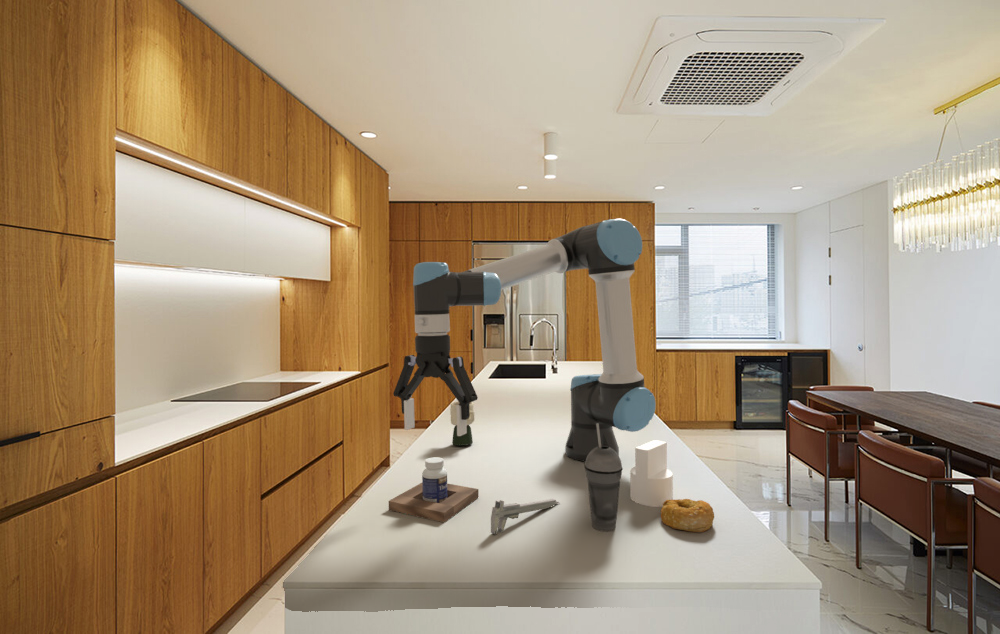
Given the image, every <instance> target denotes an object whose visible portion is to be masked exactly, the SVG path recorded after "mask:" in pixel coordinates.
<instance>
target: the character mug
mask: <svg viewBox="0 0 1000 634" xmlns="http://www.w3.org/2000/svg"><path fill="white" fill-rule="evenodd" d="M458 404H460V403H459V401H458V400H457V401H454V402H451V403H450V409H449V410H450V424H451V425H452V426H454V428H453V430H452V431H453V432H452V440H451V443H452V445H454V446H465V447H467V445H471V444H473V434H472V428H471V425H472V424H473V423H474V422H475V412H474V411H475V410H474V409H475V408H474V401H473V402H470V404H469V414H470V416H469V419H466V422H467V433H466V434H464V435H462V436H457V409H456V405H458Z"/></svg>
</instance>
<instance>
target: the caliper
mask: <svg viewBox="0 0 1000 634" xmlns="http://www.w3.org/2000/svg"><path fill="white" fill-rule="evenodd" d="M494 503H495V504H494V506H493V507H492V510H491V515H490V533H491V534H492V535H496V536H497V535H498V532H499V533H503V532H504V530H505V527H506V523H507V521H508V518H509V519H512V520H514V519H518V518H519V515H521V514H524V513H525V514H526V513H529V512H535V511H539V510H545V509H546V510H547V509H550V508H549V507H551V506H553V505H555V504H556V505H558V504H557V503H559V504H560V501H558V500H556V499H554V498H550V499H545V500H543V499H542V500H538V501H532V502H528V503H517V502H516V503H508V504H505V501H504V500H502V499H500V500H499V501H497V500H495V502H494ZM556 505H555V506H556ZM553 507H554V506H553ZM551 508H552V507H551Z"/></svg>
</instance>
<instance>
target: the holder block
mask: <svg viewBox="0 0 1000 634" xmlns="http://www.w3.org/2000/svg"><path fill="white" fill-rule="evenodd" d="M478 497H479V488H474V487H468V486H464V485H458V484H453V483H447V499H445V500H444V501H442V502H441V503H435V502H430V501H425V500H423V487H422V482H420V483H418V484H417V485H415V486H413V487H411V488H410V489H408V490H405V491H404V492H402V493H401V494H399V495H396V496H395V497H393V498H392V499H389V500H388V511H390V510H392V511H391V512H394V511H396V512H395V513H399V512H401V513H400V514H403V513H406V514H405V515H408V514H410V515H409V516H412V515H414V516H413V517H417V516H418V517H417V518H421V517H423V518H422V519H426V520H430V519H431V520H430V521H435V520H436V521H435V522H439V521H441V522H440V523H444V522H445V523H446V522H447V521H449V520H450V519H452V518H453V517H454V516H455V514H456V513H457V514H458V513H460V512H462V509H463V508H464V509H465V508H467V507H468V506H469V505H471V504H472V503H474V502H475V501H476V500H478V499H479V498H478ZM477 498H478V499H477ZM474 500H475V501H474ZM473 501H474V502H473ZM471 502H472V503H471ZM470 503H471V504H470ZM468 504H469V505H468ZM467 505H468V506H467ZM466 506H467V507H466ZM464 509H463V510H464ZM459 511H460V512H459ZM457 514H456V515H457ZM452 516H453V517H452ZM451 517H452V518H451ZM448 519H449V520H448Z"/></svg>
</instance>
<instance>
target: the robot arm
mask: <svg viewBox="0 0 1000 634" xmlns="http://www.w3.org/2000/svg"><path fill="white" fill-rule="evenodd" d="M642 253H643V240H642V235H641V234H640V232H639V230H638V229H637V227H636V226H634V224H632V222H630V221H628V220H626V219H623V218H613V219H605V220H602V221H599V222H595V223H592V224H587V225H584V226H581V227H578V228H576V229H574V230H571V231H569V232H567V233H566V234H563V235H561V236H558V237H555V238H552V239H550V240H548V242H547V243H546V244H545V245H543V246H542V245H541V246H540V247H535V248H533V249H530V250H529V249H528V251H527V250H526V251H524V252H520V253H517V254H514V255H511V256H508V257H505V258H502V259H499V260H496V261H492V262H490V263H486V264H483V265H480V266H479V265H478V266H477V267H473V268H470V269H468V270H465V271H460V272H458V271H457V272H454V271H450V268H449V264H448V263H446V262H441V261H440V262H439V261H424V262H419V263H418V262H417V263H416V264H415V266H414V267H413V276H412V277H413V279H412V280H413V283H412V286H413V302H414V333H415V334H417V335H416V336H415V337H414V347H415V348H414V351H415V353H416V356H415V355H414V354H410V355H405V356H404V359H403V367H402V370H401V372H400V374H399V377H398V380H397V383H396V386H395V387H394V390H393V394H392V395H393V396H394V397H397V398H399V399H400V400H401V401H400V402H401V403H400V404H401V413H402V415H403V420H404V430H405V431H408V430H411V429H414V428H415V427H416V426H415V423H416V422H415V421H416V420H415V398H412V397H413V396H412V395H413V394H414V393H415V391H416V390H417V389H418V387H419V386H420V384H421V383H422V382H423V381H424V379H425V378H431V377H432V378H435V379H436V378H439V379H441V381H443V382H444V383H445V385H446V386H447V387H448V389H449V391H450V392H451V393H452V395H453V396H454V397H455V398H456V400H457V402H458V401H459V403H460V404H458V405H456V409H457V436H462V435H464V434H466V433H467V422H466V419H469V416H470V414H469V404H470V402H473V403H474V402H475V401H477V400H478V397H479V396H478V395H477V393H476V390H475V388H474V386H473V384H472V381H471V379H470V377H469V375H468V373H467V370H466V368H465V365H464V364H465V363H464V358H463V356H456V357H451V356H450V351H451V336H450V335H449V334H448V333H449V332H450V331H451V322H450V307H456V306H458V307H461V306H463V307H464V306H465V307H466V306H467V307H469V306H470V307H473V306H478V307H479V306H483V307H485V306H493V305H496V304H497V303H498V302H500V299H501V294H502V290H503V291H504V290H506V289H508V288H509V289H510V288H512V287H515V286H517V285H519V284H524V283H525V282H528V281H529V282H530V281H532V280H534V279H537V278H541V277H543V276H547V275H549V274H551V273H554V272H555V273H557V274H564V273H566V272H570V271H574V270H575V271H577V270H586V269H587V271H588V277H589V278H591V279H592V280H593V281H594V282H595V293H596V302H597V314H598V325H599V326H598V327H599V336H600V338H599V339H600V348H601V349H600V350H601V360H602V371H603V372H602V373H597V374H582V375H575V376H573V377H572V378H571V382H570V389H569V390H570V391H569V392H570V411H571V412H570V413H571V414H570V416H571V417H570V420H571V421H570V423H571V424H570V425H571V426H570V431H569V433H568V436H567V439H566V442H565V447H564V451H565V452H564V453H565V455H566V456H567V457H568V458H570V459H573V460H576V461H579V462H580V461H581V462H586V458H587V456H588V454H589V453H590V451H591V450H592V449H594V448H595V447H598V446H599V444H598V435H597V427H596V423H599V431H600V439H601V446H607V447H610V448H612V449H613V450H614V451H616V453H617V454H618V456H619V457H620V453H619V452H620V449H619V448H620V447H619V445H618V441H617V439H616V438H617V437H616V435H615V432H614V430H613V428H616V429H617V430H619V431H626V432H630V433H634V432H635V433H636V432H638V431H641V430H643V429H644V428H646V427H647V426H648V425H649V424H650V421H652V419H653V417H654V415H655V412H656V398H655V395H654V393H653V392H651V390H649V389H648V388H647V387H646V386H645V378H644V375H643V374H642V373H641V372H640V371H639V370H638V366H637V354H636V353H637V352H636V344H635V332H634V320H633V319H634V318H633V308H632V295H631V284H630V283H631V282H630V279H631V277H632V275H633V274H634V273H635V272H636V271H635V270H636V269H635V263H636V261H638V260H639V258H640V255H642ZM415 366H417V367H418V368H417V369H416V371H414V370H415V369H414V368H415ZM450 367H452V369H453V371H452V370H451V368H450ZM413 372H414V374H413ZM412 374H413V377H411V376H412ZM454 374H455V376H456V377H455V376H454ZM456 378H457V379H456Z"/></svg>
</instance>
